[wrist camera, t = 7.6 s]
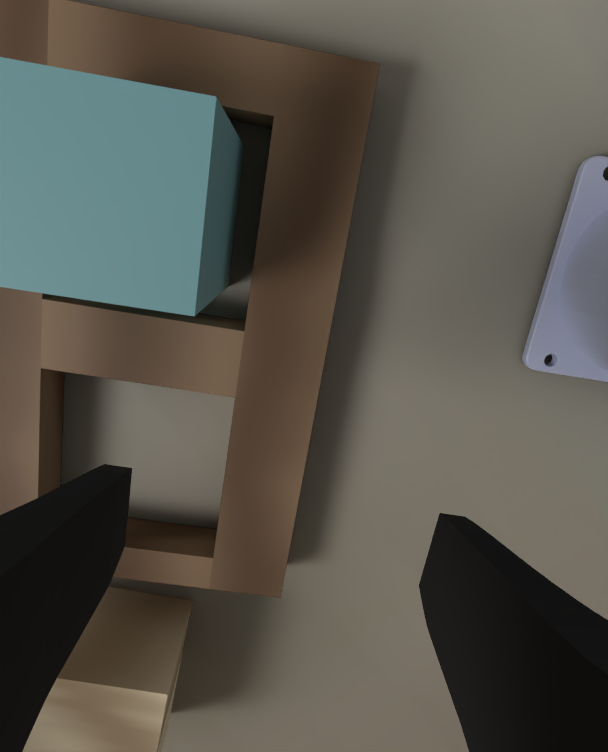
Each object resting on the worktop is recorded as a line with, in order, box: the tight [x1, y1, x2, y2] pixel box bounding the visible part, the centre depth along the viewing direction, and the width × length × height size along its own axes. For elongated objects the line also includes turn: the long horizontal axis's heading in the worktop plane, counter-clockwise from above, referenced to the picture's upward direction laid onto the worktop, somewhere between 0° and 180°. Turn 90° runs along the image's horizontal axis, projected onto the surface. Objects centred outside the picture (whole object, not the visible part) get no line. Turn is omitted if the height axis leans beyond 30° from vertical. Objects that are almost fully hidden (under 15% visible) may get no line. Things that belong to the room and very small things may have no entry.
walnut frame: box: [0, 0, 380, 597], centre depth 19 cm, size 13×20×2 cm, turn 170°
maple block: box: [24, 587, 193, 752], centre depth 22 cm, size 5×5×7 cm
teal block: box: [0, 57, 244, 316], centre depth 15 cm, size 5×5×7 cm
